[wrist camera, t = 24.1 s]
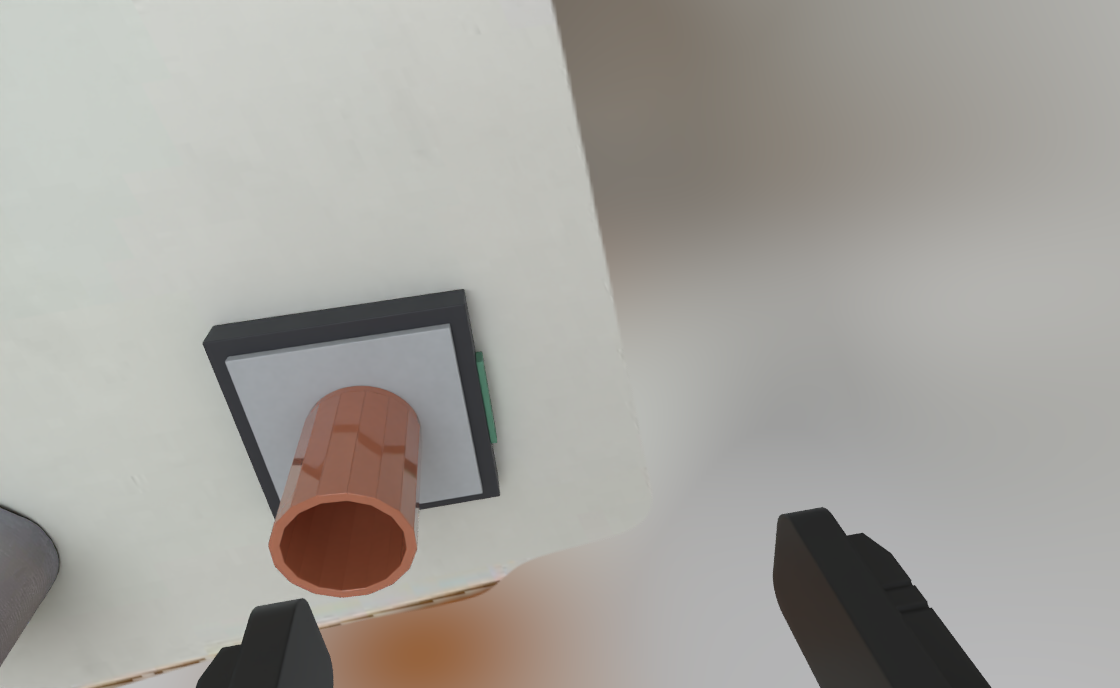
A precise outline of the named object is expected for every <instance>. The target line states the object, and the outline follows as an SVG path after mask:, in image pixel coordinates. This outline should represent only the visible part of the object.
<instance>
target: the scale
mask: <svg viewBox="0 0 1120 688" xmlns="http://www.w3.org/2000/svg"><path fill="white" fill-rule="evenodd" d="M203 346H204V348H205V351H206V353H207V356H208V358H209V360H210V363H211V365H212V368H213V370H214V373H215V375H216V377H217V380H218V382H219V385H220V387H221V390H222V392H223V394H224V397H225V399H226V402H227V404H228V407H229V409H230V412H231V414H232V416H233V419H234V421H235V424H236V426H237V429H238V431H239V433H240V436H241V438H242V441H243V443H244V446H245V448H246V450H247V453H248V455H249V458H250V460H251V463H252V465H253V468H254V470H255V472H256V475H257V477H258V480H259V482H260V485H261V487H262V489H263V492H264V494H265V497H266V499H267V502H268V504H269V506H270V509H271V511H272V514H273V516H274V519H275V518H276V515H277V512H278V509H279V505H280V502H281V499H282V495H283V492H284V489H285V485H286V482H287V479H288V476H289V472H290V469H291V466H292V462H293V459H294V456H295V453H296V449H297V446H298V443H299V439H300V436H301V433H302V429H303V426H304V423H305V420H306V417H307V415H308V413H309V412H310V410H311V408H312V407H313V406H314V405H315V404H316V403H317V402H318V401H319V400H320V399H321V398H323V397H324V396H326V395H327V394H329V393H331V392H333V391H336V390H338V389H342V388H345V387H351V386H372V387H377V388H381V389H385V390H387V391H390V392H392V393H394V394H396V395H398V396H399V397H401V398H402V399H403V400H405V401H406V402H407V403H408V404H409V405H410V406H411V407H412V408H413V410H414V411H415V413H416V414H417V416H418V418H419V421H420V424H421V429H422V460H421V481H420V502H419V510H421V509H427V508H432V507H438V506H444V505H450V504H456V503H462V502H467V501H473V500H479V499H485V498H491V497H497V496H500V491H499V481H498V473H497V468H496V462H495V457H494V451H493V446H492V443H497V436H496V429H495V423H494V417H493V412H492V406H491V400H490V395H489V389H488V383H487V378H486V372H485V366H484V360H483V355H482V352H475V347H474V341H473V336H472V330H471V325H470V319H469V314H468V308H467V303H466V297H465V292H464V289H462V290H455V291H448V292H442V293H435V294H428V295H421V296H414V297H408V298H401V299H394V300H387V301H380V302H374V303H367V304H360V305H353V306H346V307H340V308H333V309H326V310H319V311H312V312H305V313H299V314H292V315H285V316H278V317H271V318H265V319H258V320H251V321H244V322H237V323H231V324H224V325H217V326H213V327H212V329H211V330H210V332H209V334H208V335H207V337H206V338H205V340H204V341H203Z"/></svg>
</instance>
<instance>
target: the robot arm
mask: <svg viewBox="0 0 1120 688" xmlns="http://www.w3.org/2000/svg"><path fill="white" fill-rule="evenodd" d="M773 584H774V590H775V594H776V598H777V601H778V604H779V606H780V609H781V611H782V613H783V615H784V617H785V619H786V621H787V623H788V625H789V627H790V629H791V631H792V633H793V635H794V637H795V639H796V641H797V643H798V645H799V647H800V649H801V651H802V652H803V655H804V656H805V658H806V660H807V662H808V664H809V666H810V668H811V670H812V672H813V674H814V676H815V678H816V680H817V682H818V683H819V686H820V688H991V686H990V685H989V684H988V682H987V681H986V680H985V678H984V677H983V676H982V675H981V673H980V672H979V670H978V669H977V668H976V666H975V665H974V664H973V662H972V661H971V660H970V658H969V657H968V656H967V654H966V653H965V652H964V651H963V649H962V648H961V646H960V645H959V644H958V642H957V641H956V640H955V638H954V637H953V636H952V634H951V633H950V632H949V630H948V629H947V628H946V626H945V625H944V624H943V622H942V621H941V619H940V618H939V617H938V616H937V614H936V613H935V611H934V610H933V609H932V608H929V607H928V604H927V601H926V599H925V598H924V597H923V596H922V594H921V593H920V591H919V590H918V589H917V587H916V586H915V585H914V586H913V585H912V583H911V579H910V578H909V577H908V575H907V574H906V573H905V571H904V570H903V569H902V567H901V566H900V565H899V563H898V562H897V561H896V559H895V558H894V557H893V555H892V554H891V553H890V552H888V551H887V550H886V549H884V548H883V547H881V546H880V545H879V544H877V543H876V542H874V541H873V540H872V539H870V538H869V537H868V536H866V535H865V534H864V533H860V534H853V535H848V536H847V535H846V534H845V533H844V531H843V530H842V528H841V527H840V525H839V524H838V522H837V521H836V519H835V518H834V517H833V515H832V514H831V513H830V512H829V511H828V510H827V509H826V508H823V507H821V508H815V509H810V510H804V511H799V512H793V513H788V514H782V515H780V516H779V518H778V523H777V533H776V544H775V556H774V568H773ZM196 688H333V669H332V663H331V658H330V655H329V653H328V650H327V648H326V645H325V643H324V640H323V638H322V635H321V633H320V631H319V628H318V626H317V623H316V621H315V618H314V616H313V614H312V611H311V609H310V606H309V604H308V602H307V601H306V600H305V599H303V598H302V599H296V600H291V601H285V602H279V603H274V604H268V605H263V606H257V607H255V608H254V609H253V611H252V612H251V614H250V617H249V620H248V624H247V627H246V630H245V634H244V637H243V640H242V644H241V645H235V646H230V647H224V648H222V649H221V650H220V651H219V653H218V654H217V655H216V657H215V658H214V660H213V661H212V662H211V664H210V665H209V666H208V668H207V669H206V671H205V672H204V673H203V675H202V676H201V677H200V679H199V680H198V683H197V686H196Z"/></svg>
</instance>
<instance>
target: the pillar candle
mask: <svg viewBox="0 0 1120 688" xmlns="http://www.w3.org/2000/svg"><path fill="white" fill-rule="evenodd" d="M58 570H59V559H58V555H57V551H56V549H55V547H54V544H53V542H52V541H51V539H50V538H49V537H48V536H47V535H46V534H45V532H44V531H43V530H42V529H41V528H40V527H39V526H38V525H37V524H35V523H33V522H32V521H30V520H28V519H26V518H23V517H21V516H18V515H16V514H14V513H11V512H9V511H7V510H5V509H2V508H0V666H1V665H2V663H3V661H4V660H5V658H6V657H7V655H8V654H9V652H10V651H11V649H12V647H13V646H14V644H15V643H16V641H17V639H18V638H19V636H20V635H21V633H22V632H23V630H24V629H25V627H26V625H27V624H28V622H29V621H30V619H31V618H32V616H33V614H34V613H35V611H36V609H37V608H38V606H39V605H40V603H41V602H42V600H43V599H44V598H45V596H46V594H47V593H48V591H49V590H50V588H51V586H52V584H53V583H54V581H55V579H56V576H57V574H58Z"/></svg>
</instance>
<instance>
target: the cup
mask: <svg viewBox="0 0 1120 688" xmlns="http://www.w3.org/2000/svg"><path fill="white" fill-rule="evenodd" d="M421 460H422V429H421V424H420V421H419V418H418V416H417V414H416V413H415V411H414V410H413V408H412V407H411V406H410V405H409V404H408V403H407V402H406V401H405V400H403V399H402V398H401V397H399V396H398V395H396V394H394V393H392V392H390V391H387V390H385V389H381V388H377V387H372V386H351V387H345V388H342V389H338V390H336V391H333V392H331V393H329V394H327V395H326V396H324V397H323V398H321V399H320V400H319V401H318V402H317V403H316V404H315V405H314V406H313V407H312V408H311V410H310V412H309V413H308V415H307V417H306V420H305V423H304V426H303V429H302V433H301V436H300V439H299V443H298V446H297V449H296V453H295V456H294V459H293V462H292V466H291V469H290V472H289V476H288V479H287V482H286V485H285V489H284V492H283V495H282V499H281V502H280V505H279V509H278V512H277V515H276V518H275V522H274V525H273V529H272V532H271V536H270V540H269V544H268V545H269V550H270V553H271V556H272V559H273V563H274V565H275V567H276V568H277V569H278V570H279V571H280V572H281V573H282V574H283V575H284V576H285V577H286V578H287V579H288V580H289V581H290V582H291V583H292V584H295V585H297V586H299V587H301V588H303V589H305V590H308V591H310V592H312V593H315V594H320V595H327V596H333V597H340V598H341V597H343V598H344V597H352V596H360V595H368V594H371V593H374V592H376V591H378V590H381V589H383V588H385V587H388V586H390V585H392V584H394V583H395V582H396V581H397V580H398V579H399V578H400V577H401V576H402V575H403V574H404V573H405V572H406V571H408V570H409V568H410V566H411V564H412V561H413V559H414V556H415V554H416V551H417V543H418V522H419V502H420V481H421Z"/></svg>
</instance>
